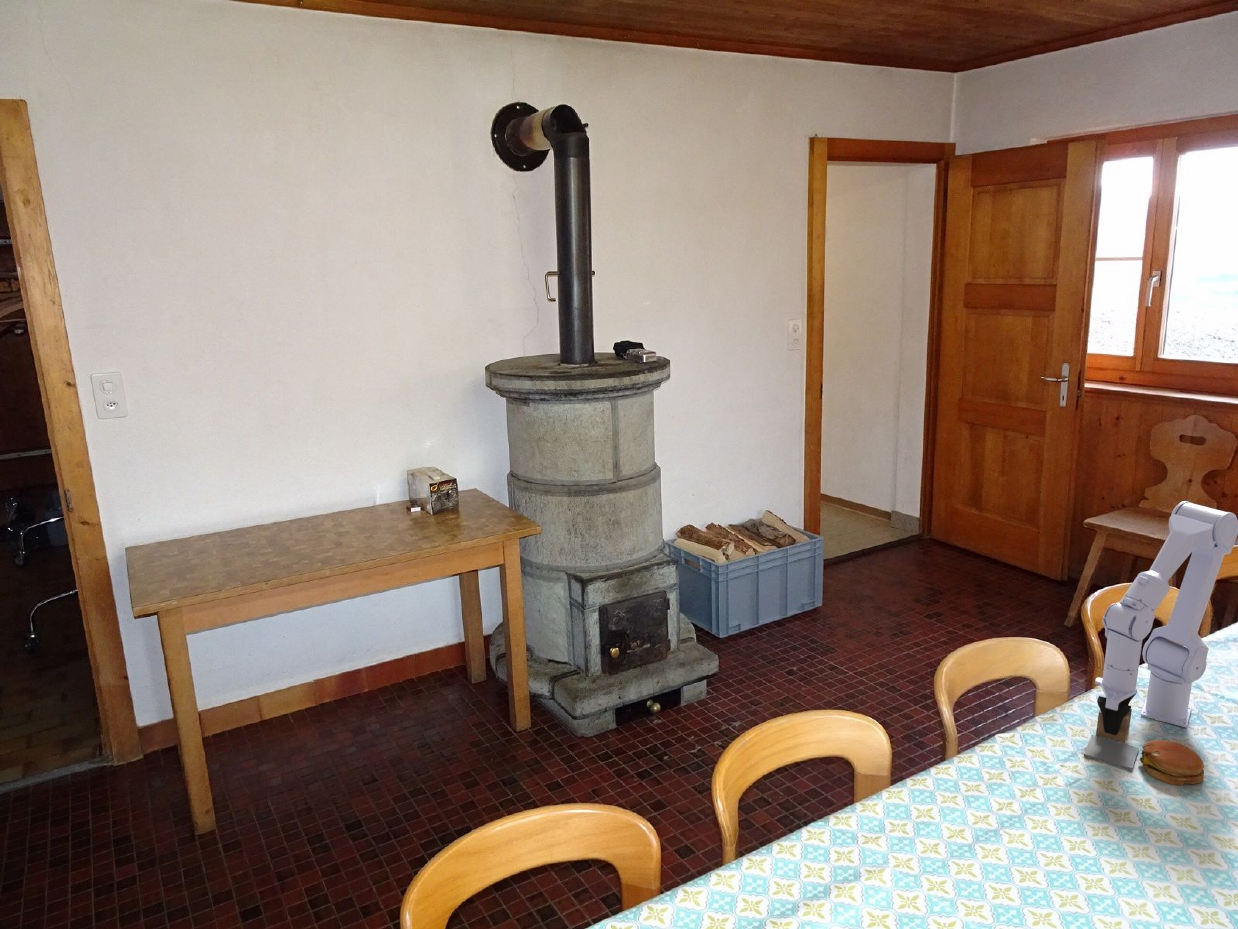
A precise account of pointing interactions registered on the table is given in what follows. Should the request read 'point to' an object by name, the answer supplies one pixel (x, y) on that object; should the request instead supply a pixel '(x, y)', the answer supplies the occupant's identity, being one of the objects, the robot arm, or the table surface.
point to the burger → (1172, 762)
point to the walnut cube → (1122, 731)
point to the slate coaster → (1111, 752)
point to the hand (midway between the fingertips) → (1113, 726)
